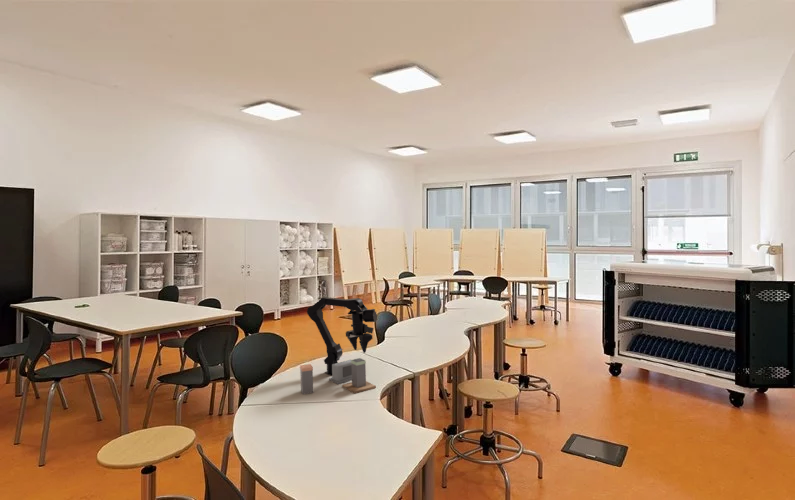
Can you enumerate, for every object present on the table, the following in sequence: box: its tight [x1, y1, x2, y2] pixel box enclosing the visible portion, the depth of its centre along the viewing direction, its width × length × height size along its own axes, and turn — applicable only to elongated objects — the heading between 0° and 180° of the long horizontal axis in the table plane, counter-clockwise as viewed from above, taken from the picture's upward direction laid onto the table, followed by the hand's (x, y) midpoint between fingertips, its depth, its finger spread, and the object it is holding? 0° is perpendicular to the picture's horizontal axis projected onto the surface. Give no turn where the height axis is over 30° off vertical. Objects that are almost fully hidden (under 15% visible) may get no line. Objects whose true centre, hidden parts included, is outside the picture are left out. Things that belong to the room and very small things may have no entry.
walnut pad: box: [341, 380, 377, 394], centre depth 217 cm, size 12×12×1 cm
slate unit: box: [328, 359, 352, 385], centre depth 229 cm, size 8×14×8 cm, turn 132°
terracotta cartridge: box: [299, 363, 314, 395], centre depth 212 cm, size 5×5×12 cm
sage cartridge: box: [350, 357, 367, 388], centre depth 217 cm, size 5×5×12 cm
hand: (360, 351), depth 235 cm, fingers open, 9 cm apart
